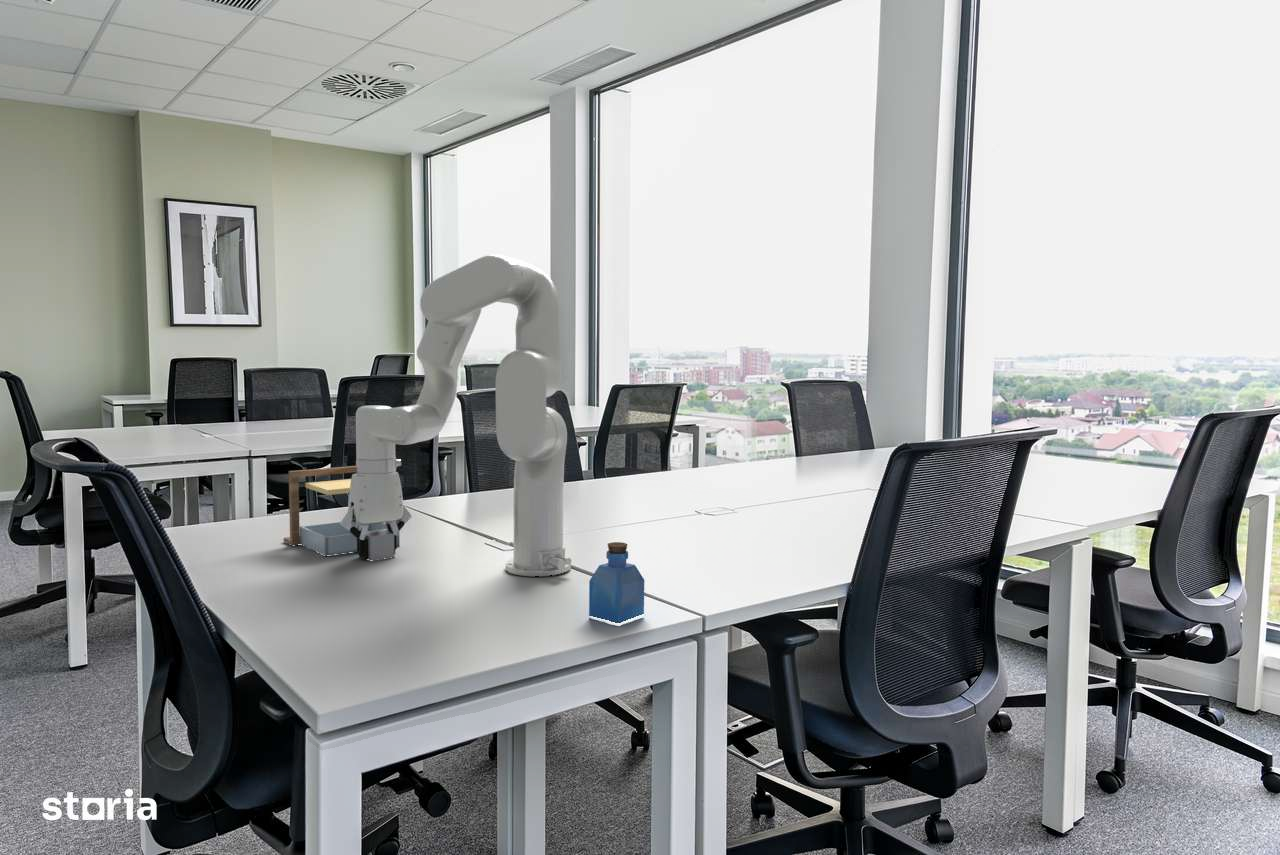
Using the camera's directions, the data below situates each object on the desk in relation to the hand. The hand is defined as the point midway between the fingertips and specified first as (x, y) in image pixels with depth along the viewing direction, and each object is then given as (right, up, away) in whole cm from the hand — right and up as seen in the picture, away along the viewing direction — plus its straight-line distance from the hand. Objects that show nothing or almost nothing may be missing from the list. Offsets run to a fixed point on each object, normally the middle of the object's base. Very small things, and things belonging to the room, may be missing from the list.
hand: (377, 554), depth 173 cm
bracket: (-15, +1, +17) cm, 22 cm away
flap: (-9, +13, +9) cm, 18 cm away
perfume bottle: (+50, -5, -37) cm, 62 cm away
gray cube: (0, -1, 0) cm, 1 cm away
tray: (-9, 0, +10) cm, 13 cm away
